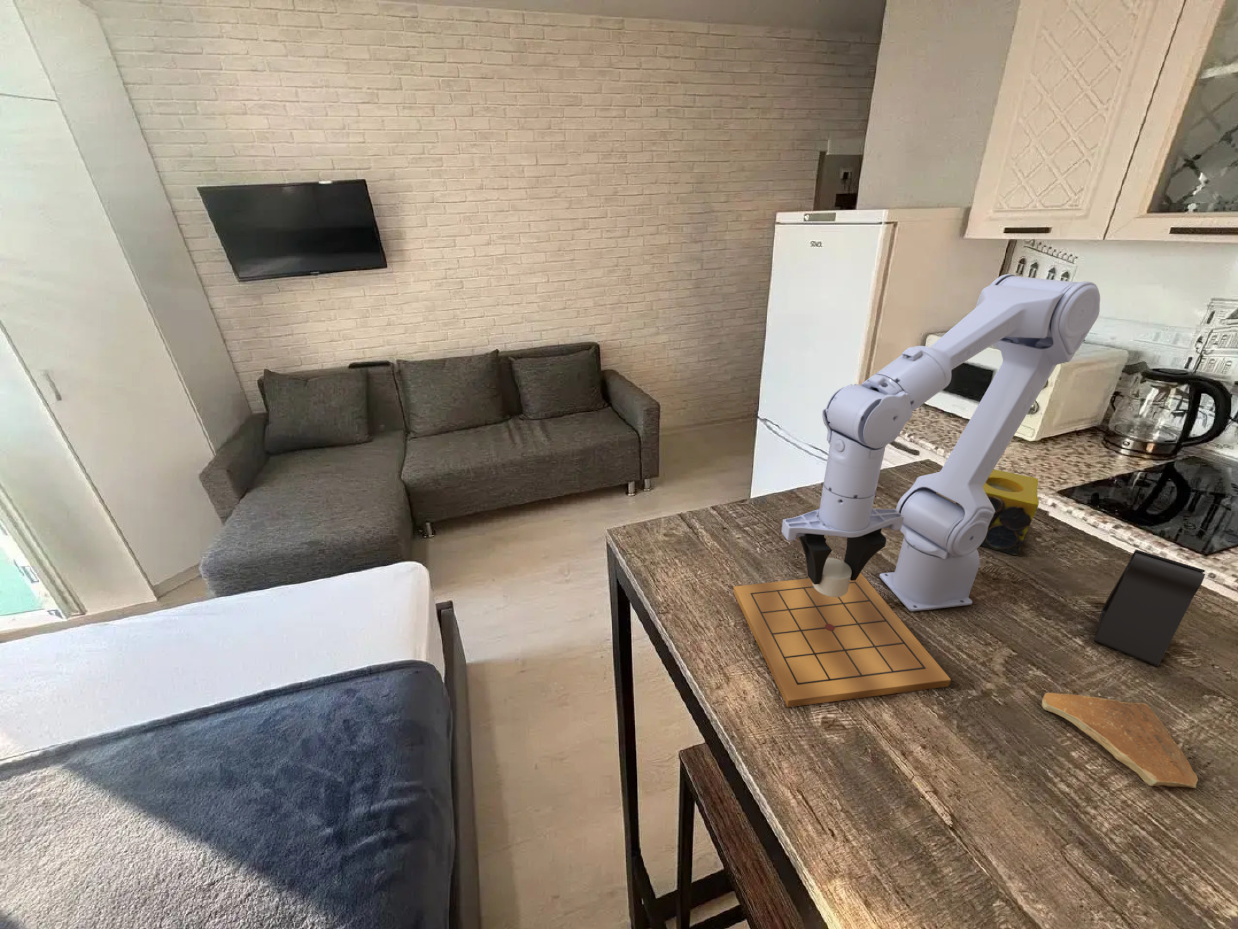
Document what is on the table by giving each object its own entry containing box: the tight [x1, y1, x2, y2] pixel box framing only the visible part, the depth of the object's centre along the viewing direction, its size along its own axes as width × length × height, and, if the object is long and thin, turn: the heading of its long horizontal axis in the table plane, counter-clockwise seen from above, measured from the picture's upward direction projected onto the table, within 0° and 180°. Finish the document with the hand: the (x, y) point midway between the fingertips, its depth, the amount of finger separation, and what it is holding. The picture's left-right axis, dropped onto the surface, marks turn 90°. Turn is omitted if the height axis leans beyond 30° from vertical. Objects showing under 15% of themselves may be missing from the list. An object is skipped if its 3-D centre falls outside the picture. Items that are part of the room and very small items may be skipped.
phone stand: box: [1093, 549, 1206, 667], centre depth 64 cm, size 9×6×12 cm, turn 134°
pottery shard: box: [1041, 692, 1199, 789], centre depth 53 cm, size 10×9×2 cm
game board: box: [733, 572, 952, 708], centre depth 68 cm, size 20×20×1 cm
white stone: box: [812, 557, 852, 597], centre depth 66 cm, size 4×4×3 cm
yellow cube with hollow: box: [955, 468, 1040, 556], centre depth 86 cm, size 10×10×10 cm
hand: (831, 577), depth 66 cm, fingers closed on white stone, 4 cm apart
